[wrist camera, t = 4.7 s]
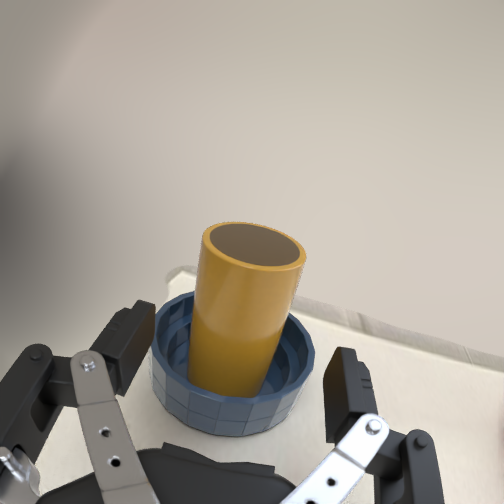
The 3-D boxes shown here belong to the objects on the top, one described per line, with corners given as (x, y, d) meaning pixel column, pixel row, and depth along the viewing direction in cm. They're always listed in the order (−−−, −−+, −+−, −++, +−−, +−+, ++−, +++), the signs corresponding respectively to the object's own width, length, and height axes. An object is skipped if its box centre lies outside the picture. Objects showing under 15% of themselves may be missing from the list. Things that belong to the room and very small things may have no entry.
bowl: (138, 429, 17) (134, 390, 15) (161, 321, 27) (163, 279, 25) (307, 441, 19) (331, 405, 17) (284, 336, 29) (298, 298, 27)
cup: (182, 399, 20) (198, 260, 15) (189, 341, 25) (205, 215, 20) (268, 406, 21) (318, 277, 16) (260, 349, 26) (295, 229, 21)
